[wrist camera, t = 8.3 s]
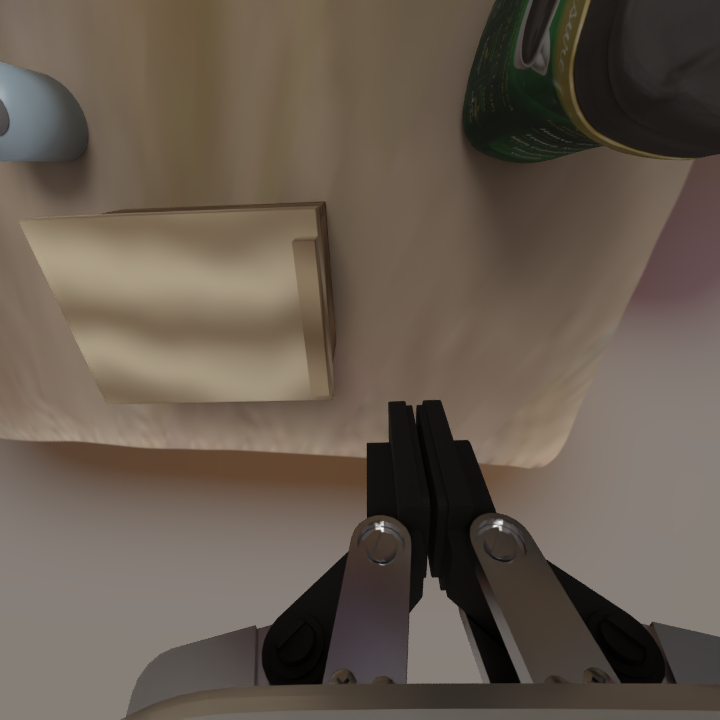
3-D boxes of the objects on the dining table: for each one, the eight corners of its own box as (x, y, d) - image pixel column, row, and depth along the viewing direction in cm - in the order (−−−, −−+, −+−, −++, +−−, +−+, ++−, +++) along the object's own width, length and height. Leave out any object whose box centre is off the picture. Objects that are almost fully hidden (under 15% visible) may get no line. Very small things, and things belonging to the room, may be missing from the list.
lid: (41, 216, 21) (-7, 224, 18) (318, 205, 21) (311, 212, 18) (120, 392, 27) (93, 417, 25) (334, 387, 27) (330, 412, 24)
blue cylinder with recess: (-7, 74, 24) (-89, 54, 19) (69, 70, 23) (2, 49, 19) (32, 163, 26) (-34, 162, 22) (100, 159, 26) (47, 159, 22)
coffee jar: (548, 173, 26) (855, 191, 10) (446, 147, 25) (590, 119, 9) (624, -5, 21) (1462, -548, 5) (500, -44, 20) (1008, -821, 4)
